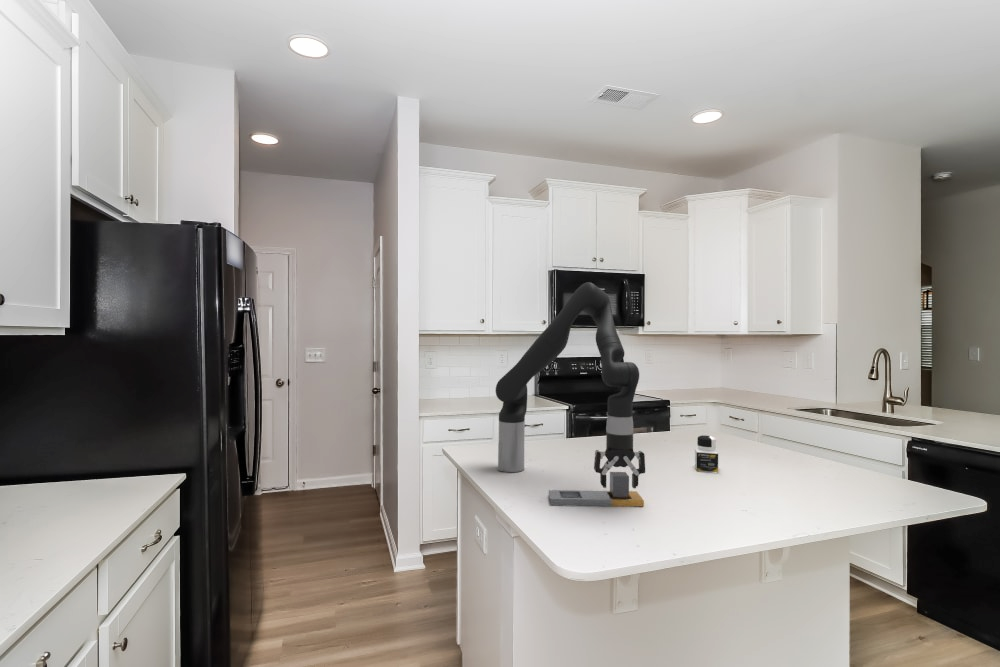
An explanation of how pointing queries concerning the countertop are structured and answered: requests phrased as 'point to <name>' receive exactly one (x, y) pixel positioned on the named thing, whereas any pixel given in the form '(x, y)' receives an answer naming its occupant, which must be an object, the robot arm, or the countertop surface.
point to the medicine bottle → (706, 454)
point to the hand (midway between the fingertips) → (619, 487)
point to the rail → (593, 498)
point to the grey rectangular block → (619, 485)
